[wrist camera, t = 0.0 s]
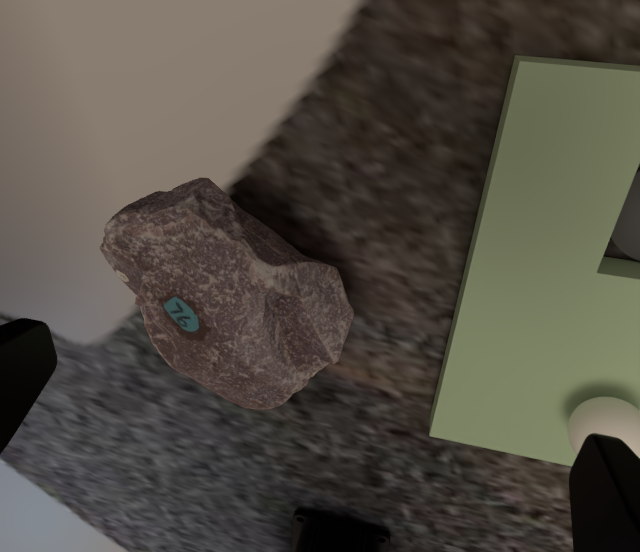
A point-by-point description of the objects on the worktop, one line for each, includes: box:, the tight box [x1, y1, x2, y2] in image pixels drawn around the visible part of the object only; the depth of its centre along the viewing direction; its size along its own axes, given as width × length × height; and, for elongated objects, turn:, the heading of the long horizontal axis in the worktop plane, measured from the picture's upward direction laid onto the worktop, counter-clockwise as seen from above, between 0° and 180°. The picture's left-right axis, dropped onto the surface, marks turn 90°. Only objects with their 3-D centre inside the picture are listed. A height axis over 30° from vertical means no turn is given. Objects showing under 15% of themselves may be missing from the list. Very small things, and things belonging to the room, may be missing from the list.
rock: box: [100, 178, 354, 410], centre depth 23 cm, size 8×11×5 cm
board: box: [429, 55, 640, 466], centre depth 21 cm, size 18×14×2 cm
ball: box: [568, 397, 640, 458], centre depth 21 cm, size 3×3×3 cm
